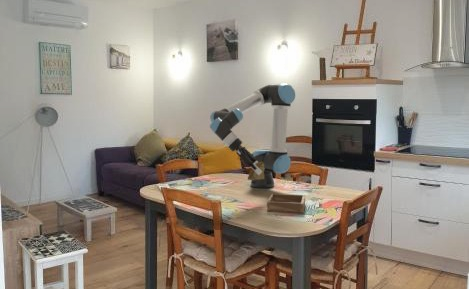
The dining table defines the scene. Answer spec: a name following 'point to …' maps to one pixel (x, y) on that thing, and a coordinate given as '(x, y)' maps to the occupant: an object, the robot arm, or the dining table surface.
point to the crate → (286, 203)
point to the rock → (254, 175)
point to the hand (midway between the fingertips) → (261, 172)
